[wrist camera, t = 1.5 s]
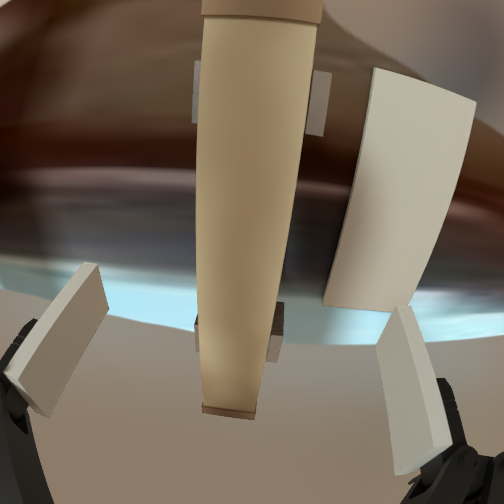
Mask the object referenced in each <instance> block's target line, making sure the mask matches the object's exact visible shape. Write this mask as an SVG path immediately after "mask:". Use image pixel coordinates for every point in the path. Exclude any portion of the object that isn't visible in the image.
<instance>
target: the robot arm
mask: <svg viewBox="0 0 504 504" xmlns="http://www.w3.org/2000/svg"><path fill="white" fill-rule="evenodd" d="M108 310H109V307H108V303H107V299H106V296H105V292H104V288H103V284H102V280H101V276H100V272H99V267H98V264H94V263H88V262H84V263H83V264H82V265H81V266H80V267H79V269H78V270H77V271H76V272H75V274H74V275H73V276H72V277H71V278H70V280H69V281H68V282H67V283H66V285H65V286H64V287H63V288H62V290H61V291H60V292H59V294H58V295H57V296H56V297H55V299H54V300H53V301H52V303H51V304H50V305H49V307H48V308H47V309H46V311H45V312H44V314H43V315H42V316H41V317H40V319H39V320H37V319H32V320H31V321H30V322H28V323H27V324H26V325H25V326H24V327H23V328H22V329H21V331H20V332H19V334H18V336H17V337H16V338H15V339H14V341H13V344H11V345H10V347H9V348H8V349H7V351H6V352H5V354H4V356H3V357H2V358H1V360H0V504H54V502H53V499H52V497H51V494H50V491H49V488H48V485H47V482H46V479H45V476H44V473H43V470H42V466H41V463H40V459H39V456H38V453H37V448H36V444H35V440H34V437H33V432H32V427H31V423H30V418H29V414H28V411H27V410H26V409H27V407H28V405H29V406H30V407H31V408H32V409H33V410H34V411H35V412H36V413H38V414H40V415H42V416H44V417H46V418H48V419H49V418H50V416H51V414H52V412H53V410H54V408H55V406H56V404H57V402H58V399H59V398H60V395H61V394H62V392H63V390H64V388H65V386H66V384H67V382H68V380H69V378H70V376H71V374H72V373H73V371H74V369H75V367H76V365H77V364H78V362H79V360H80V358H81V356H82V354H83V353H84V351H85V349H86V347H87V346H88V344H89V342H90V340H91V339H92V337H93V335H94V333H95V332H96V330H97V328H98V327H99V325H100V323H101V322H102V320H103V318H104V316H105V315H106V313H107V312H108ZM375 349H376V354H377V359H378V364H379V368H380V374H381V379H382V385H383V391H384V396H385V402H386V408H387V415H388V421H389V429H390V436H391V444H392V452H393V461H394V470H395V475H402V474H409V473H413V472H414V471H416V470H418V469H419V468H420V470H421V474H420V475H418V476H417V477H415V478H413V479H412V480H411V481H410V482H409V483H408V484H409V485H410V484H412V483H414V484H413V485H412V487H411V488H410V490H409V491H408V493H407V494H406V496H405V497H404V499H403V500H402V502H401V503H400V504H504V452H502V453H500V454H498V455H497V456H496V457H489V456H483V455H478V453H477V451H476V450H475V449H474V448H473V447H471V446H468V445H467V442H466V439H465V435H464V430H463V427H462V422H461V419H460V415H459V411H458V410H457V404H456V401H455V397H454V394H453V391H452V388H451V386H450V385H449V383H448V382H447V381H446V379H445V378H436V377H435V374H434V371H433V367H432V364H431V362H430V358H429V355H428V352H427V349H426V346H425V343H424V340H423V337H422V334H421V332H420V329H419V326H418V323H417V321H416V318H415V315H414V313H413V310H412V307H411V306H405V305H396V306H395V308H394V310H393V312H392V314H391V316H390V318H389V320H388V322H387V324H386V326H385V328H384V330H383V332H382V334H381V336H380V338H379V340H378V342H377V344H376V346H375Z"/></svg>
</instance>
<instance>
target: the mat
mask: <svg viewBox="0 0 504 504" xmlns="http://www.w3.org/2000/svg"><path fill="white" fill-rule="evenodd" d="M475 108H476V102H475V101H472V100H470V99H468V98H465V97H463V96H460V95H458V94H455V93H453V92H450V91H448V90H445V89H442V88H440V87H437V86H434V85H432V84H429V83H426V82H423V81H420V80H417V79H414V78H411V77H407V76H404V75H401V74H397V73H394V72H390V71H387V70H383V69H379V68H374V70H373V77H372V84H371V90H370V96H369V102H368V108H367V114H366V120H365V125H364V131H363V136H362V141H361V146H360V151H359V156H358V161H357V166H356V171H355V175H354V180H353V184H352V189H351V193H350V198H349V202H348V206H347V210H346V214H345V218H344V222H343V226H342V230H341V234H340V238H339V242H338V246H337V250H336V253H335V257H334V261H333V264H332V268H331V271H330V275H329V278H328V282H327V285H326V289H325V292H324V296H323V299H322V306H330V307H340V308H351V309H362V310H374V311H387V312H393V310H394V308H395V306H396V305H405V306H408V304H409V302H410V299H411V297H412V295H413V293H414V291H415V289H416V287H417V285H418V283H419V280H420V278H421V276H422V274H423V271H424V269H425V267H426V265H427V262H428V260H429V257H430V255H431V253H432V250H433V248H434V245H435V243H436V240H437V238H438V235H439V233H440V230H441V227H442V225H443V222H444V219H445V216H446V214H447V211H448V208H449V205H450V202H451V199H452V196H453V193H454V190H455V187H456V183H457V180H458V177H459V173H460V170H461V166H462V163H463V159H464V156H465V152H466V148H467V144H468V140H469V136H470V131H471V127H472V123H473V118H474V113H475Z"/></svg>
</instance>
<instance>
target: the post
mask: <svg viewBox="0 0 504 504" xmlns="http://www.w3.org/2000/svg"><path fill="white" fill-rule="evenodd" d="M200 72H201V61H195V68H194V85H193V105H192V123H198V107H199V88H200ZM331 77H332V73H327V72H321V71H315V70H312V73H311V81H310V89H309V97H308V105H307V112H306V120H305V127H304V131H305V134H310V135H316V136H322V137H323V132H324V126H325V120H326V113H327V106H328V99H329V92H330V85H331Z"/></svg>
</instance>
